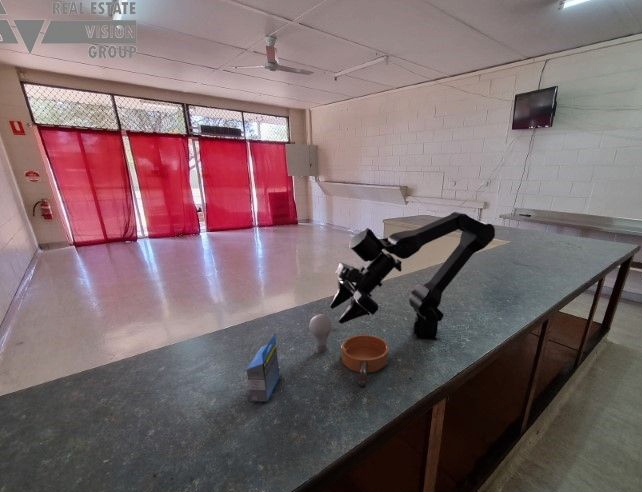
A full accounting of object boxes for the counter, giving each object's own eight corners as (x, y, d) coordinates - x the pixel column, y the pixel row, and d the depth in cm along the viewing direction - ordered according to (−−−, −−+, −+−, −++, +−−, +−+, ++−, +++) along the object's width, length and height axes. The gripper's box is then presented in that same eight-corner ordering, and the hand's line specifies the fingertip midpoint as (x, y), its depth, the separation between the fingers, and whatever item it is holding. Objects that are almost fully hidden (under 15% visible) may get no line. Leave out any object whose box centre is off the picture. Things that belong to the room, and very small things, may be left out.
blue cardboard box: (264, 375, 76) (259, 330, 72) (280, 376, 76) (276, 331, 72) (250, 401, 68) (243, 352, 63) (268, 402, 68) (262, 353, 63)
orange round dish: (387, 348, 89) (388, 335, 88) (388, 374, 78) (389, 361, 76) (344, 346, 89) (344, 333, 88) (339, 372, 78) (339, 359, 77)
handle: (367, 366, 77) (367, 359, 77) (366, 390, 69) (366, 383, 68) (360, 365, 77) (360, 359, 77) (357, 390, 69) (358, 383, 68)
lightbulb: (336, 348, 88) (336, 312, 85) (326, 359, 83) (326, 322, 79) (317, 343, 90) (315, 309, 86) (306, 355, 85) (304, 318, 81)
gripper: (344, 244, 88) (306, 285, 88) (367, 263, 72) (320, 312, 72) (370, 268, 94) (334, 307, 94) (396, 291, 77) (353, 337, 77)
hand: (335, 314), depth 84 cm, fingers open, 9 cm apart
